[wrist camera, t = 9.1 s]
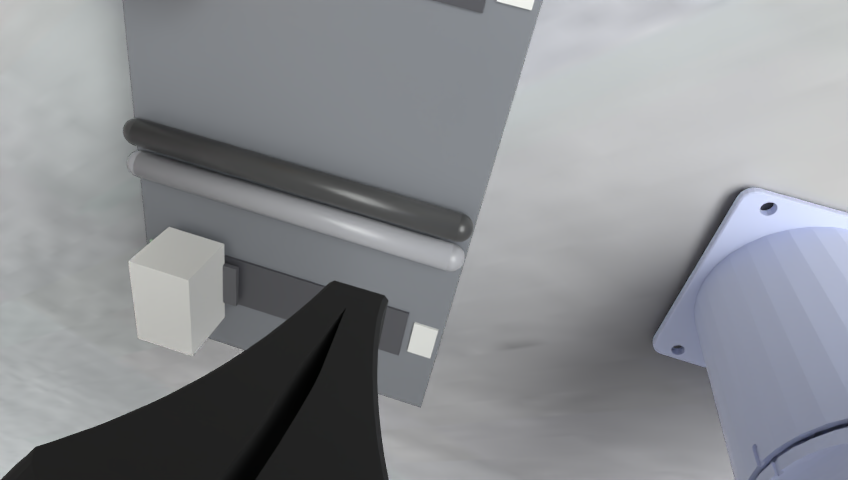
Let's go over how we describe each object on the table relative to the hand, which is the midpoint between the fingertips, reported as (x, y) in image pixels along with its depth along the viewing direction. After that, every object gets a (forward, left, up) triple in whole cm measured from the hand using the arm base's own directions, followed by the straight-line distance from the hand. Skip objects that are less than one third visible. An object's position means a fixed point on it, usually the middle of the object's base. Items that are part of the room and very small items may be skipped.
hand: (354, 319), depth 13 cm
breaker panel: (+4, -1, -10) cm, 11 cm away
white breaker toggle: (+8, +7, -7) cm, 13 cm away
